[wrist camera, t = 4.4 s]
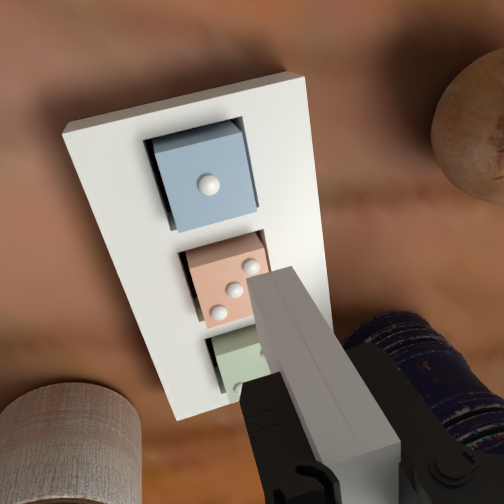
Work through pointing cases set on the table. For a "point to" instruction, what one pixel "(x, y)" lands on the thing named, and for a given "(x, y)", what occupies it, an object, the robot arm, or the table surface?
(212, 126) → the button one dot
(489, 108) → the onion
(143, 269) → the button panel
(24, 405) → the planter
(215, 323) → the button three dots
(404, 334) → the navy blue cylinder
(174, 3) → the table surface
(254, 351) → the button two dots
